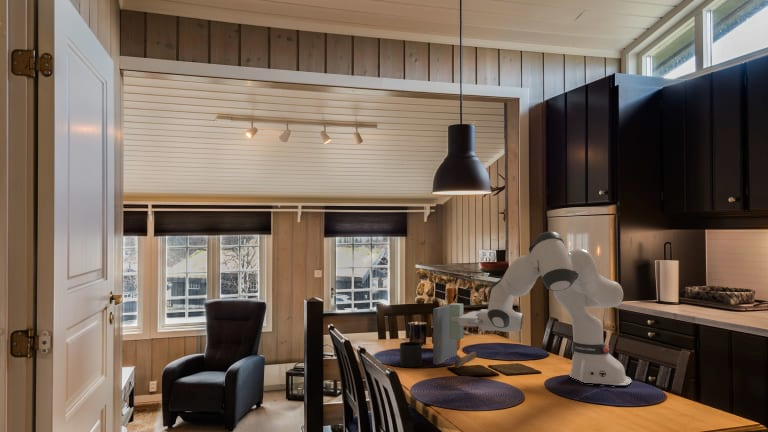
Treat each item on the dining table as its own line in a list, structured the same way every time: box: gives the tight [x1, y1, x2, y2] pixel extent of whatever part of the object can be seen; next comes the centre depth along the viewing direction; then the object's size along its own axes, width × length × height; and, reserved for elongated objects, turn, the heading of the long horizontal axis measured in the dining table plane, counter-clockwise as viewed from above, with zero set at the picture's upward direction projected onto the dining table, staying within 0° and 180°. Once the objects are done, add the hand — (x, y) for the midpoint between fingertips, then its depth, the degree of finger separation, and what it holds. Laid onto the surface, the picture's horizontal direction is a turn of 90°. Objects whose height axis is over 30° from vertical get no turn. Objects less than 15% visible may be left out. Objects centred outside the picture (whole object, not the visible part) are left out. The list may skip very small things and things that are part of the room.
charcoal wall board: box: [432, 304, 477, 368], centre depth 237 cm, size 12×22×24 cm, turn 150°
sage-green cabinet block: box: [449, 302, 465, 341], centre depth 233 cm, size 5×5×15 cm
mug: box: [399, 341, 423, 368], centre depth 230 cm, size 9×12×9 cm
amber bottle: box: [446, 287, 461, 351], centre depth 262 cm, size 10×10×30 cm
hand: (454, 317), depth 233 cm, fingers closed on sage-green cabinet block, 5 cm apart
